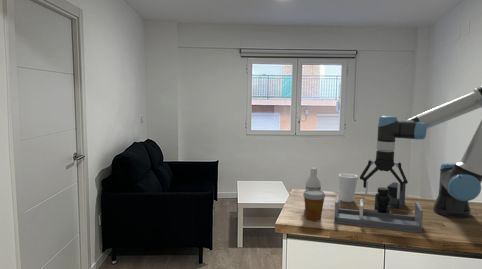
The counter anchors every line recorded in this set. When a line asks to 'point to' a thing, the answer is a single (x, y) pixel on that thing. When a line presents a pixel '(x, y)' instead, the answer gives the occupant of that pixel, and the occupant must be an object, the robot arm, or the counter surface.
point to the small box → (393, 193)
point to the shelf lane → (380, 219)
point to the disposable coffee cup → (313, 204)
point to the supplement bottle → (382, 200)
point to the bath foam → (313, 181)
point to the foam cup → (347, 186)
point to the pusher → (365, 210)
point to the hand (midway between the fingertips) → (381, 196)
